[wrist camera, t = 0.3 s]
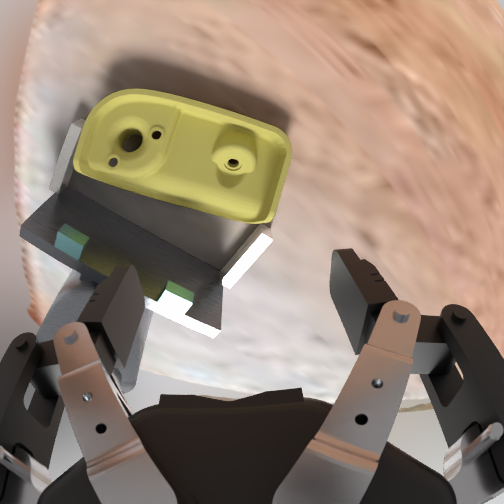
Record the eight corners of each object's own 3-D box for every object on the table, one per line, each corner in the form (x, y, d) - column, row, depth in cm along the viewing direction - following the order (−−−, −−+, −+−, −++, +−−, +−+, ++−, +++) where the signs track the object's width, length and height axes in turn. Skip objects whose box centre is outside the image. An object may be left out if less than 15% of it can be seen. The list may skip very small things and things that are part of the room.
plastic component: (298, 135, 27) (269, 233, 28) (273, 145, 34) (249, 224, 35) (101, 79, 21) (67, 181, 22) (115, 101, 28) (88, 182, 29)
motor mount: (82, 118, 26) (-32, 182, 11) (270, 228, 35) (292, 354, 21) (40, 256, 36) (-17, 346, 21) (182, 331, 46) (169, 434, 31)
